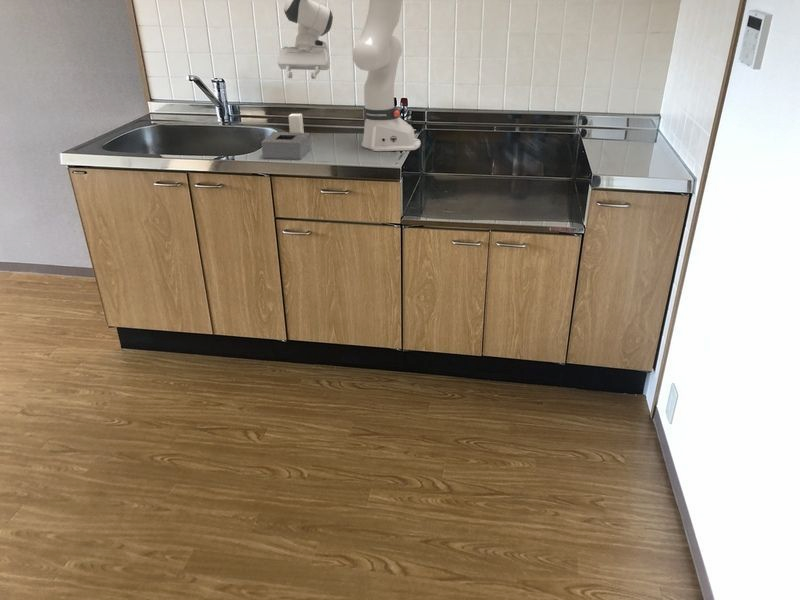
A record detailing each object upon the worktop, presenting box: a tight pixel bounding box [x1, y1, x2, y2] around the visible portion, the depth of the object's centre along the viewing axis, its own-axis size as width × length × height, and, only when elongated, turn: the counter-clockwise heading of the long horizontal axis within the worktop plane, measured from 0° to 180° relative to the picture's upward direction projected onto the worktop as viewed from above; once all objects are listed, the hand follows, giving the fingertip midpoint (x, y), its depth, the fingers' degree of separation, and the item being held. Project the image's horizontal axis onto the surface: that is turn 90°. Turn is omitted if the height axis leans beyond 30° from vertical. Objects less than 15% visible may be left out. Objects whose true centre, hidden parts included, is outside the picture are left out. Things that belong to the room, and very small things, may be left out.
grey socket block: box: [260, 131, 312, 161], centre depth 245 cm, size 14×14×6 cm
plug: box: [287, 113, 305, 133], centre depth 256 cm, size 4×4×11 cm
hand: (301, 77), depth 259 cm, fingers open, 8 cm apart
